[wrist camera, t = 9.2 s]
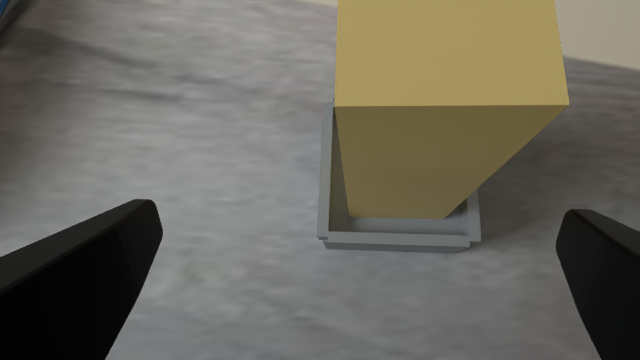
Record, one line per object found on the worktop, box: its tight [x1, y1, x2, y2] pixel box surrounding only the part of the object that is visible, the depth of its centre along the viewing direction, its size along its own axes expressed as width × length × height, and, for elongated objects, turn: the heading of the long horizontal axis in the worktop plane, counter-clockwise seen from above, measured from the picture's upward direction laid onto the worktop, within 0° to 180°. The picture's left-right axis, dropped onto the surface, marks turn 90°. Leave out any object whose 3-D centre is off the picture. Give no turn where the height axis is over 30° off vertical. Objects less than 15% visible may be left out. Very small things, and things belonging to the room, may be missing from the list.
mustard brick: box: [335, 0, 570, 220], centre depth 14 cm, size 4×4×12 cm
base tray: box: [317, 98, 481, 253], centre depth 21 cm, size 7×7×4 cm
